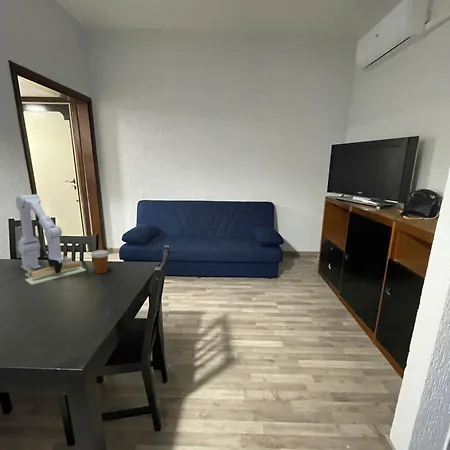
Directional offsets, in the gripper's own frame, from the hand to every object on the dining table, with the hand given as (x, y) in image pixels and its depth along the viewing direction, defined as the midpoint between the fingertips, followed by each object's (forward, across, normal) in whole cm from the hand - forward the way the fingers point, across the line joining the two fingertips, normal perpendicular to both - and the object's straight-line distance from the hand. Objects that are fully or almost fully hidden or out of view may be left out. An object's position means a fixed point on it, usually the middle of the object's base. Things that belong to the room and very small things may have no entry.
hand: (56, 272), depth 159 cm
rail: (0, 0, 0) cm, 0 cm away
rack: (+2, +10, 0) cm, 10 cm away
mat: (+2, 0, 0) cm, 2 cm away
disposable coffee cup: (+2, -12, -19) cm, 23 cm away
